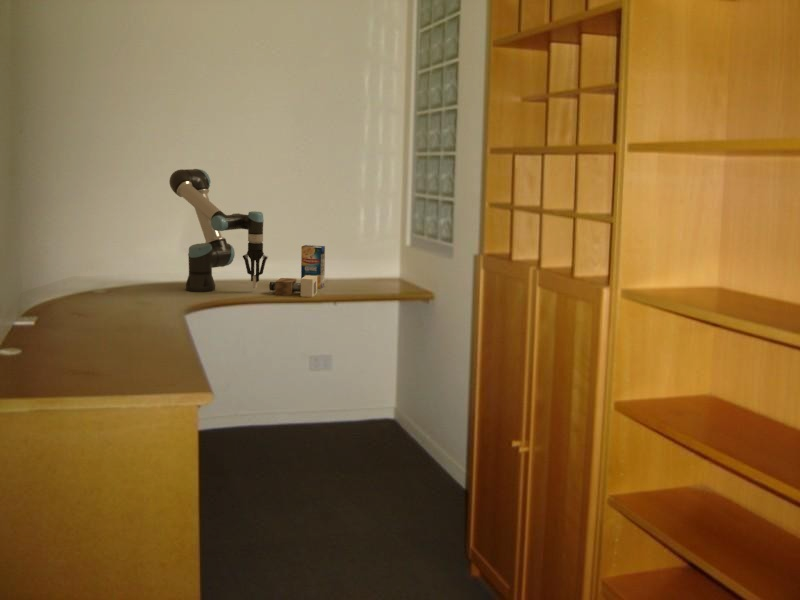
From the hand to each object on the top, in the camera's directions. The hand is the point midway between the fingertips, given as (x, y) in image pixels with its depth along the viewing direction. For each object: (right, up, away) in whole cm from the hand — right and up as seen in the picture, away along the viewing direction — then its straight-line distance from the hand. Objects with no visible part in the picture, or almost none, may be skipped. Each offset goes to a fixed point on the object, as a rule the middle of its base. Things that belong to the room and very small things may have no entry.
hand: (254, 287), depth 468 cm
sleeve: (+16, -3, -2) cm, 16 cm away
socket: (+28, -4, -3) cm, 28 cm away
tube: (+19, -2, -2) cm, 19 cm away
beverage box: (+28, 0, +21) cm, 35 cm away
